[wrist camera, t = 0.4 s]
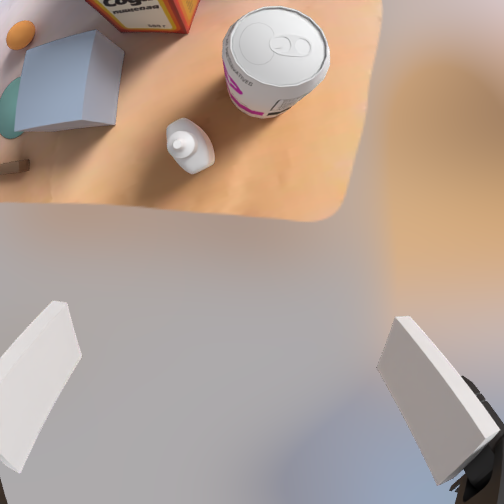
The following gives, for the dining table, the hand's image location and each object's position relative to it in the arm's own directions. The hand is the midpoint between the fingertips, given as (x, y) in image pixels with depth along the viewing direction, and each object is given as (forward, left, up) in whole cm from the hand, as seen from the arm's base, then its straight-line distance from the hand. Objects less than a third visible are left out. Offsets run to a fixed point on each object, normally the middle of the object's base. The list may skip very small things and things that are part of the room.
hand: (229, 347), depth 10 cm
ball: (-27, -35, -24) cm, 50 cm away
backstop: (-6, -35, -26) cm, 44 cm away
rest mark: (-15, -35, -26) cm, 46 cm away
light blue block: (-15, -21, -26) cm, 37 cm away
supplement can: (-15, +2, -26) cm, 31 cm away
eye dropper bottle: (-7, -5, -26) cm, 28 cm away
